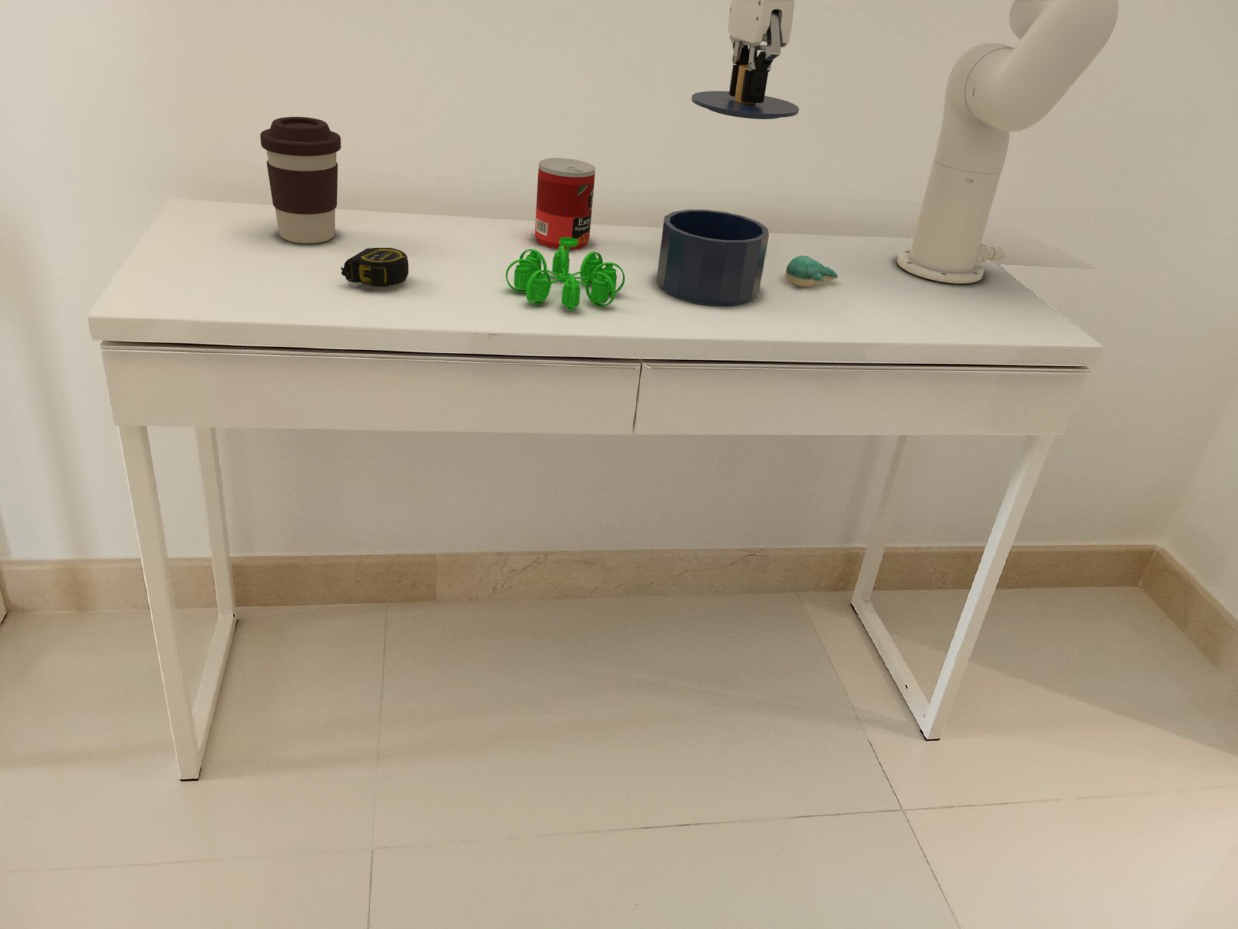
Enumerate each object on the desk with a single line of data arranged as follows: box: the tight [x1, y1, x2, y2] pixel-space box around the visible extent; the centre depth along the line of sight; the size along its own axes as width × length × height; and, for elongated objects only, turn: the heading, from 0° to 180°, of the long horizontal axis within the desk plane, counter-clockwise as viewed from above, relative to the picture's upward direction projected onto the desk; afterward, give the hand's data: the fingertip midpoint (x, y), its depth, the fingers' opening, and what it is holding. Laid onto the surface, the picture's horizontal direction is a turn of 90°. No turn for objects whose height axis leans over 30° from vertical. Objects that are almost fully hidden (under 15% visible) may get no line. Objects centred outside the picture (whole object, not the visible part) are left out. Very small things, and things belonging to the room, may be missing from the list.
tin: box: [656, 208, 770, 308], centre depth 130 cm, size 14×14×8 cm
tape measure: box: [340, 247, 410, 288], centre depth 121 cm, size 7×7×4 cm
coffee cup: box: [259, 116, 342, 244], centre depth 131 cm, size 10×10×15 cm
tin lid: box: [691, 65, 800, 120], centre depth 133 cm, size 15×15×6 cm
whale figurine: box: [785, 254, 839, 288], centre depth 137 cm, size 6×7×4 cm
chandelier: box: [505, 237, 626, 312], centre depth 124 cm, size 15×15×7 cm
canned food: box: [534, 157, 596, 251], centre depth 140 cm, size 8×8×11 cm
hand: (746, 97), depth 134 cm, fingers closed on tin lid, 3 cm apart
